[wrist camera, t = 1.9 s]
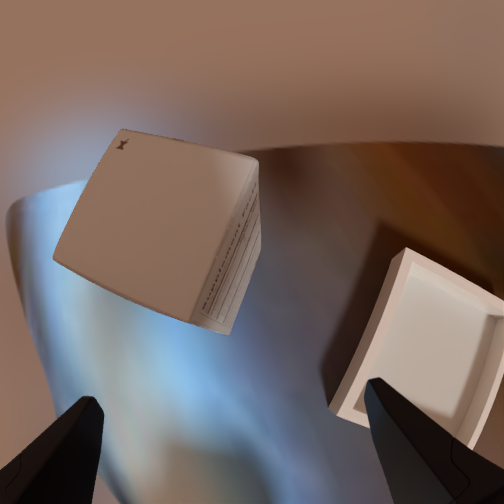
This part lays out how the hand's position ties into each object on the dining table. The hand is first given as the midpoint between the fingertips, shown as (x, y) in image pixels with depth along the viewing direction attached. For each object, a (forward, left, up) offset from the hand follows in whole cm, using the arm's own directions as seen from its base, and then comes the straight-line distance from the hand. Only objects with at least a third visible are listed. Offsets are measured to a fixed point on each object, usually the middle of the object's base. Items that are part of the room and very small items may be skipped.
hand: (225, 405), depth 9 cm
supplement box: (-1, +8, -14) cm, 16 cm away
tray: (+14, -4, -14) cm, 20 cm away
